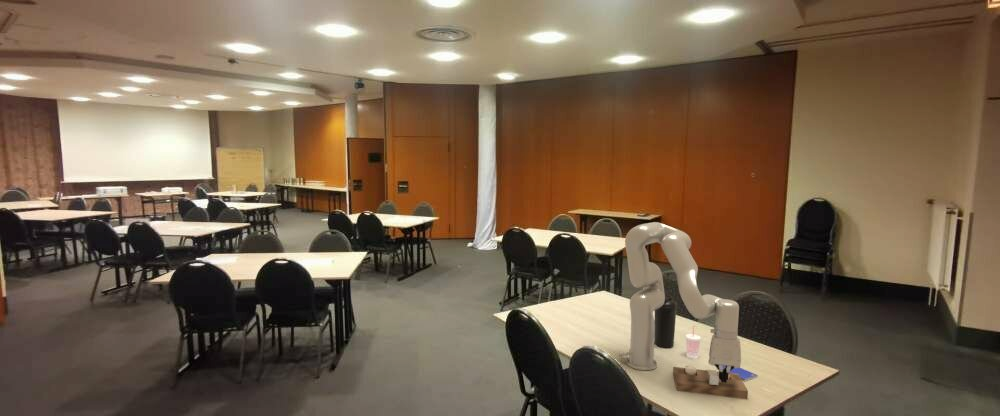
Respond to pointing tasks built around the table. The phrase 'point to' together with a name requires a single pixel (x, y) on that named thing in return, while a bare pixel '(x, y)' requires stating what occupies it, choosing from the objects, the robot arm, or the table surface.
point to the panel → (702, 385)
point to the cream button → (690, 370)
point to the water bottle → (665, 323)
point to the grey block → (712, 377)
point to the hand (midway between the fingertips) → (723, 380)
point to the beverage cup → (692, 345)
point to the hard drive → (743, 373)
